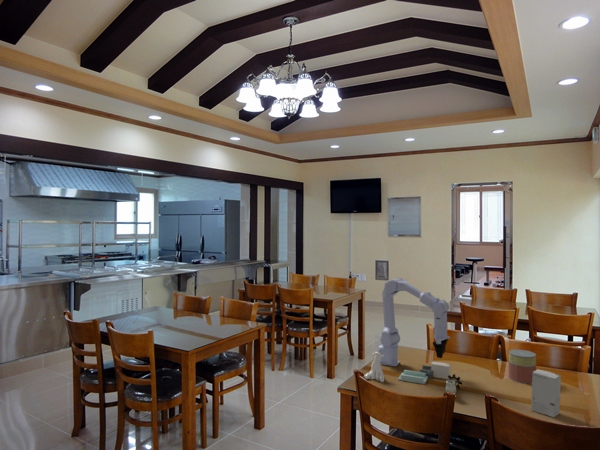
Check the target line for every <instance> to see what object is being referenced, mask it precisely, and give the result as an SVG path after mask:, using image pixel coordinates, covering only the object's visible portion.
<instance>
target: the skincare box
mask: <svg viewBox="0 0 600 450" xmlns="http://www.w3.org/2000/svg"><path fill="white" fill-rule="evenodd" d="M561 382H562V376H561V375H560V374H557V373H554V372H550V371H548V370H547V371H546V370H544V369H543V370H541V369H539V368H538V369H536V371H534V372H533V379H532V384H531V405H530V409H531V411H533V412H537V413H538V414H543V415H545V416H549V417H551V418H555V417H557V416H558V415H559V414H560V413H561V412H560V411H561V409H560V408H561Z"/></svg>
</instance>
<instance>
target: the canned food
mask: <svg viewBox="0 0 600 450" xmlns="http://www.w3.org/2000/svg"><path fill="white" fill-rule="evenodd" d="M536 370H537V354H536V353H535V352H533V351H530V350H525V349H510V350H508V379H509V380H511V381H512V382H515V383H519V384H524V383H525V384H527V383H532V379H533V372H534V371H536ZM527 385H528V384H527Z"/></svg>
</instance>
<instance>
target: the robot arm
mask: <svg viewBox="0 0 600 450" xmlns="http://www.w3.org/2000/svg"><path fill="white" fill-rule="evenodd" d="M399 292H407V293H408V294H410V295H412V296H414V297H416V298H418V300H419V302H420V303H422V304H423V305H424V306H426V307H428V308H430V309H431V310H432V312H433V315H434V316H433V318H434V319H433V321H434V322H433V324H434V325H433V329H434V330H433V332H434V333H433V337H434V339H435V341H432V345H433V347H434V350H435V353H436V358H437V359H442V358H443V355H444V354H445V352H446V348H447V347H446V346H447V343H448V341H449V339H451V336H449V335H448V311H449V309H450V305H449V302H447V301H446V300H445V299H440V298H439V297H436V296H434V295H432V293H431V292H429V291H428V292H427V291H424V292H423V291H421V290H420V289H418V288H417V287H415V286H414V285H412V284H410V283H409V282H408V280H406V279H403V278H401V277H397V278H393V279H389V280H387V281H386V282H385V283H384V287H383V290H382V294H381V296H382V308H383V309H382V310H383V323H384V324H383V325H384V327H383V329H382V331H381V336H380V343H381V344H379V346H378V350H377V352H378V353H380V354H381V356H382V355H384V357H383V358H382V359H381V361H380V363H381V365H382V366H383V365H384V366H390V367H391V366H392V367H397V366H398V365H399V364H400V362H401V361H400V360H399V359H398V356H399V355H398V351H399V349H398V345H399V343H400V341H401V336H400V334H399V330H398V328H397V327H396V321H395V318H396V317H395V303H394V302H395V301H394V296H396V295H397V294H398V293H399Z"/></svg>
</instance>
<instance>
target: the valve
mask: <svg viewBox="0 0 600 450" xmlns="http://www.w3.org/2000/svg"><path fill="white" fill-rule="evenodd" d="M456 375H457V374H455V373H453V374H452V375H451V374H450V375H448V378H449V379H445V393H446V392H452V393H455V394H456V392H457V389H458V390H460V389H461V385H463V381H461V377H460V376H456ZM451 379H453V380H451Z"/></svg>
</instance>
